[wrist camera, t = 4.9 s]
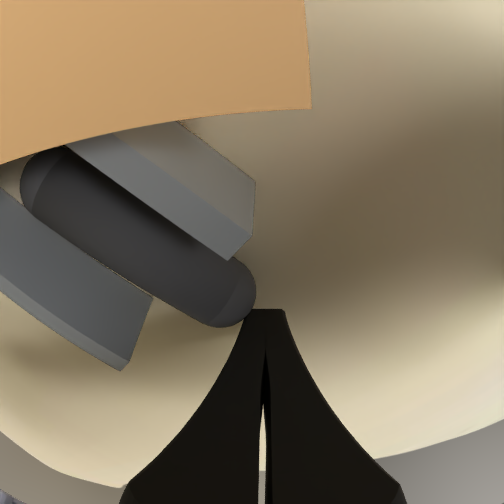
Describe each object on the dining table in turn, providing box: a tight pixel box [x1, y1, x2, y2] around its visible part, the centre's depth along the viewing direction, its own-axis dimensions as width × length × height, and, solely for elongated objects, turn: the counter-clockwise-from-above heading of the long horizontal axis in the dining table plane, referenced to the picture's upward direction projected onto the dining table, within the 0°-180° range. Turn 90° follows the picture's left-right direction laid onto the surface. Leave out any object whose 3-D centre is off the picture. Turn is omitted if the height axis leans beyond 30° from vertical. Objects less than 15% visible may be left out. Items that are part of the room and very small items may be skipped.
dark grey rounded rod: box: [20, 147, 256, 328], centre depth 9 cm, size 8×2×2 cm, turn 52°
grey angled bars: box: [0, 121, 256, 371], centre depth 7 cm, size 12×7×3 cm, turn 50°
